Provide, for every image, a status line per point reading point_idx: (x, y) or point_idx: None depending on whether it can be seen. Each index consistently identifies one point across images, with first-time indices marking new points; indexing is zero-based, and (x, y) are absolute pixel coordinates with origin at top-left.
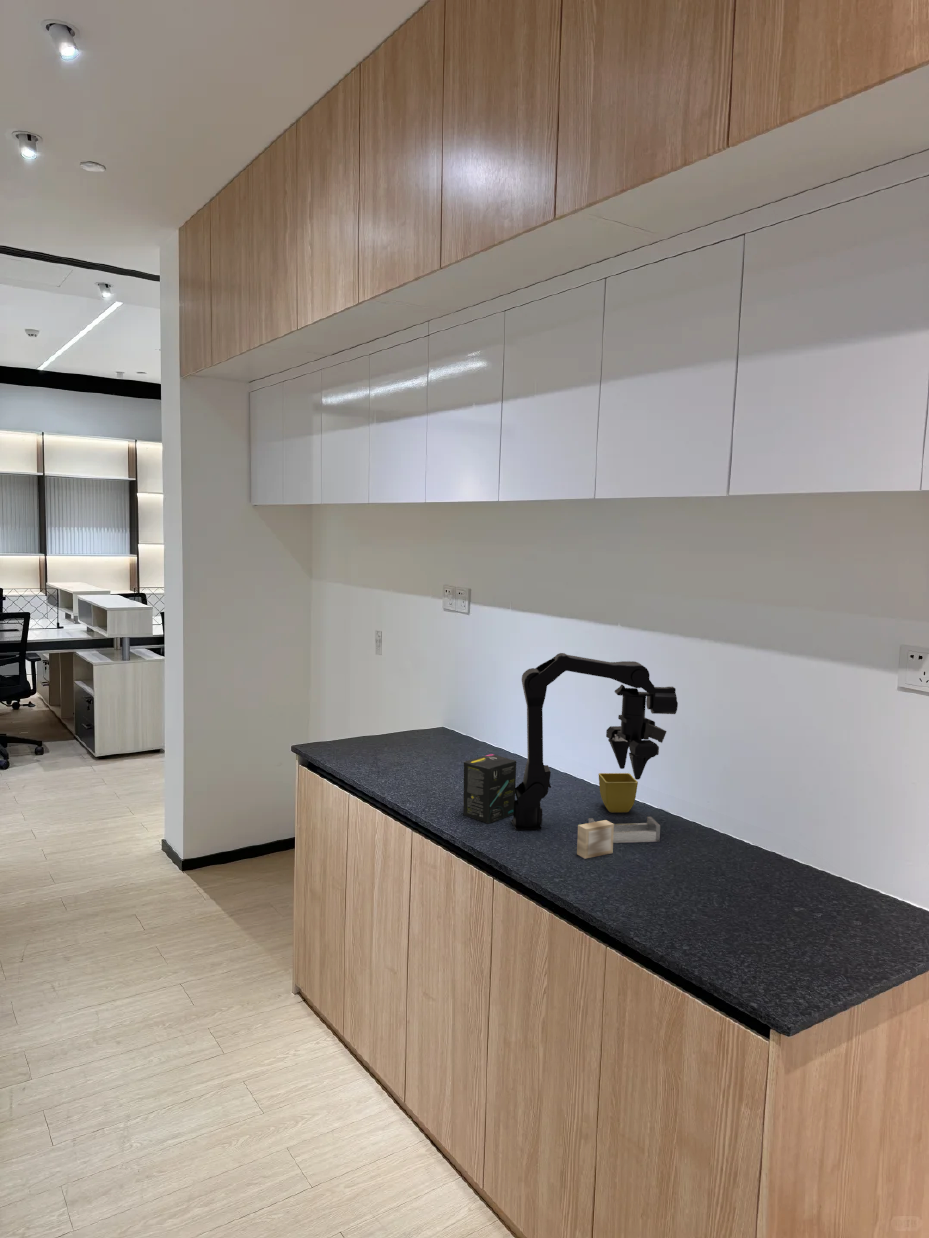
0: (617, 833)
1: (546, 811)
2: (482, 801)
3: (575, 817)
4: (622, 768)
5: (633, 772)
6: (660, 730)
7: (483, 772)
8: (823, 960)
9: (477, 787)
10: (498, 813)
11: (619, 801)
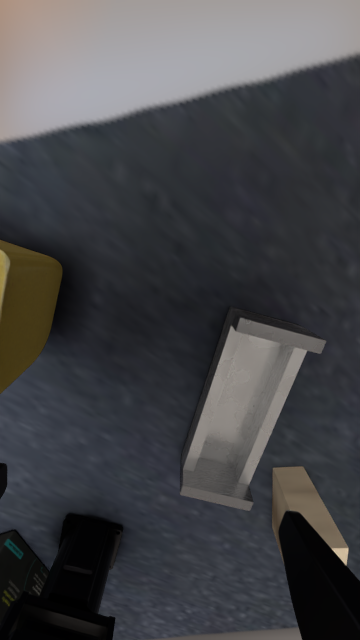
0: (264, 445)
1: (7, 464)
2: None
3: (64, 425)
4: (5, 476)
5: (302, 624)
6: None
7: None
8: None
9: None
10: (36, 587)
11: (47, 317)
